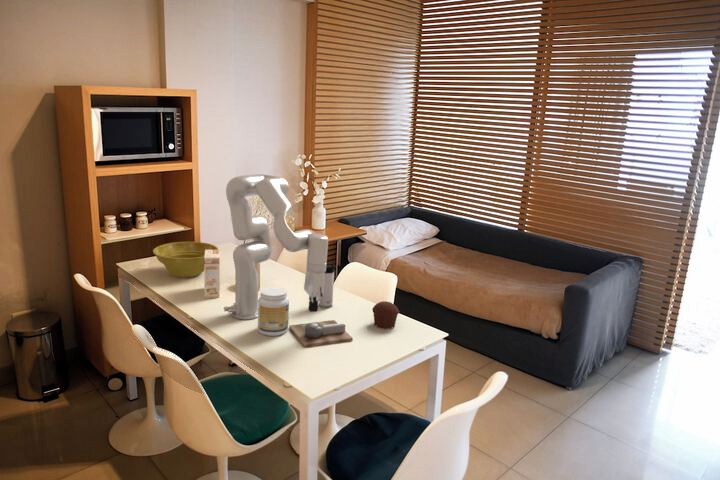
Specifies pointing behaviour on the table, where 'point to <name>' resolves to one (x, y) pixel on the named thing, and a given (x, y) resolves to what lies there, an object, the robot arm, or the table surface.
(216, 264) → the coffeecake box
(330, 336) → the board
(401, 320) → the table surface
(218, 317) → the table surface
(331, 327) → the grey knobbed bar
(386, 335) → the table surface
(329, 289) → the travel mug
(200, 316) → the table surface
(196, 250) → the planter bowl
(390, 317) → the muffin
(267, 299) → the supplement tub
